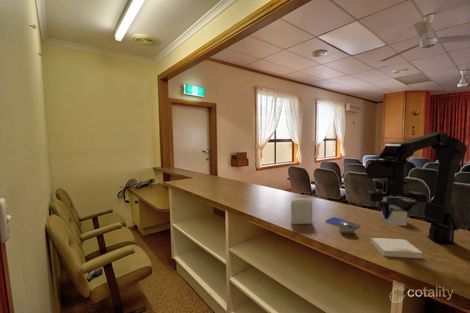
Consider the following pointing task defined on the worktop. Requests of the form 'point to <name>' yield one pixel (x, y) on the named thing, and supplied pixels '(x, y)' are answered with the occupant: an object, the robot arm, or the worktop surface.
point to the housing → (396, 216)
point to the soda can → (394, 202)
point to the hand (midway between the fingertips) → (393, 219)
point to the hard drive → (337, 221)
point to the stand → (396, 248)
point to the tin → (346, 228)
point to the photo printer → (301, 211)
